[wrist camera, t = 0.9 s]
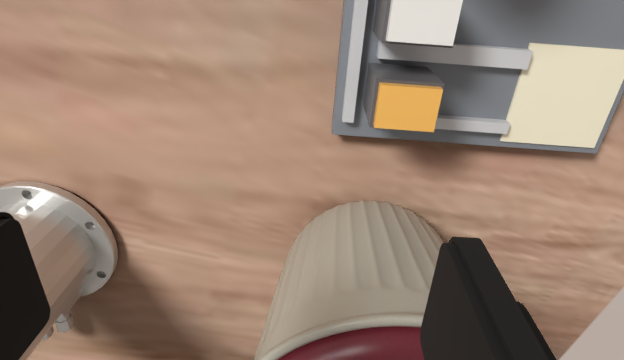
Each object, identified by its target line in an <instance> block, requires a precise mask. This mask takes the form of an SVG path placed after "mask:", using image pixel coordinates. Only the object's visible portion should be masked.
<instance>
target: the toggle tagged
mask: <svg viewBox="0 0 624 360" xmlns="http://www.w3.org/2000/svg"><path fill="white" fill-rule="evenodd" d="M444 85H445V83H443V82H442V81H441V80H440V79H439V78H438V77H437V76H436V75H435V74H434V73H433V72H432V71H431V70H430V69H429V68H428V67H423V66H410V65H396V64H383V63H369V65H368V72H367V80H366V88H365V95H364V103H363V106H364V110H365V113H366V117H367V120H368V124H369V127H373V128H383V129H397V130H410V131H424V132H434V130H435V125H436V121H437V116H438V112H439V107H440V103H441V98H442V94H443V89H444Z"/></svg>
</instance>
